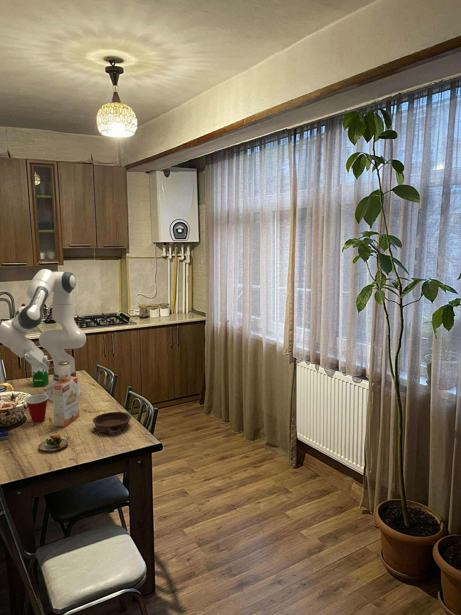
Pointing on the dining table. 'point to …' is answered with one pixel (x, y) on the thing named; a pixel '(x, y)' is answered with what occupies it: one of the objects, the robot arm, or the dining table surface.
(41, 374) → the milk carton
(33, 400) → the plastic cup
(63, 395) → the cracker box
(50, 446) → the burger
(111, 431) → the dish
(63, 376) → the tea canister
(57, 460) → the dining table surface
